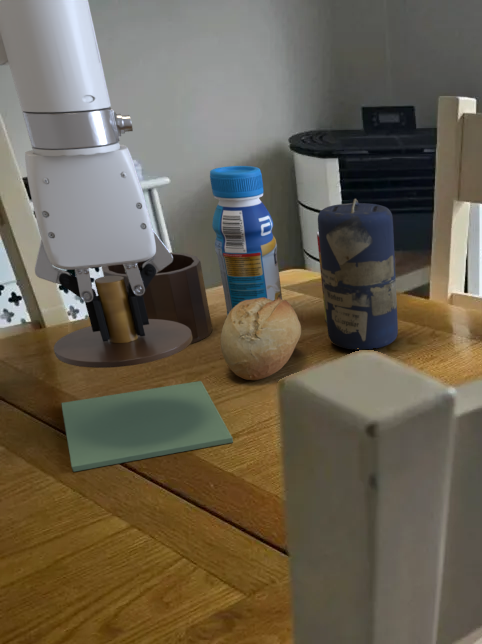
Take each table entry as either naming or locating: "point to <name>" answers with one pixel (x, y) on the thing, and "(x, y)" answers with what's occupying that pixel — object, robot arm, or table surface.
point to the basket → (175, 294)
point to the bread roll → (259, 337)
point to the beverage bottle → (244, 236)
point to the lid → (121, 334)
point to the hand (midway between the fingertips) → (122, 333)
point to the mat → (141, 425)
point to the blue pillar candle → (358, 274)
